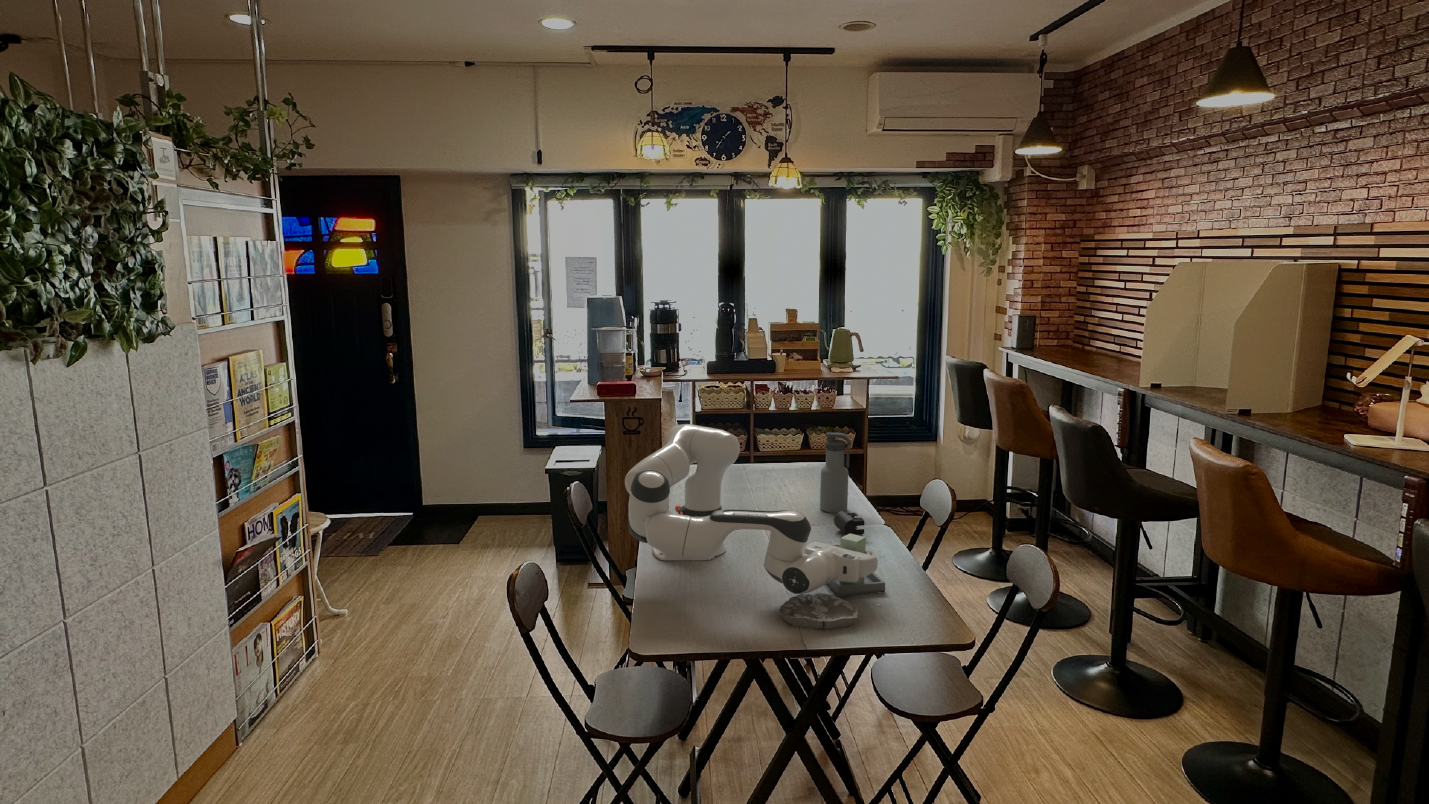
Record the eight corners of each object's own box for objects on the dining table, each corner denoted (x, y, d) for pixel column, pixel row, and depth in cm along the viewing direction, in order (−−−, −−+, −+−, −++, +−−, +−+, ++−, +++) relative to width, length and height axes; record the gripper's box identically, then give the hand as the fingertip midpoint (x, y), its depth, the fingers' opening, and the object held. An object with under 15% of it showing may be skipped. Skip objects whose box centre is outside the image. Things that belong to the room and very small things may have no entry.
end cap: (833, 530, 281) (833, 511, 280) (853, 529, 282) (853, 509, 281) (843, 540, 271) (844, 520, 270) (864, 538, 273) (865, 518, 272)
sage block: (855, 587, 231) (856, 541, 228) (839, 582, 234) (840, 537, 232) (864, 581, 234) (865, 537, 232) (848, 577, 238) (849, 533, 235)
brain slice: (849, 603, 222) (849, 593, 222) (862, 632, 206) (863, 620, 205) (775, 604, 222) (775, 593, 221) (782, 633, 205) (782, 621, 204)
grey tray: (837, 596, 226) (837, 586, 226) (820, 577, 239) (820, 568, 239) (884, 592, 229) (885, 582, 229) (865, 574, 242) (865, 564, 242)
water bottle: (847, 506, 308) (850, 431, 303) (849, 514, 299) (851, 436, 294) (819, 505, 309) (821, 430, 304) (820, 513, 300) (822, 436, 295)
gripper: (795, 565, 230) (822, 552, 240) (860, 584, 217) (886, 569, 227) (795, 543, 229) (823, 531, 239) (861, 561, 216) (887, 547, 226)
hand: (854, 549), depth 233 cm, fingers open, 8 cm apart
